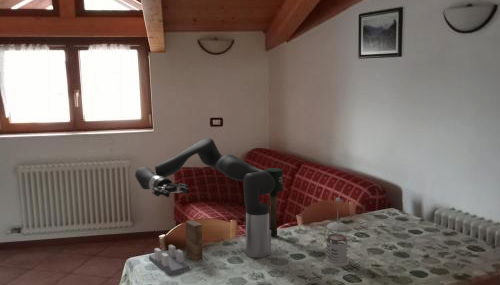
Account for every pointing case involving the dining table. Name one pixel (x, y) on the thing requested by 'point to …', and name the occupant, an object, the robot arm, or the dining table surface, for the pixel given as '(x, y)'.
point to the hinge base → (170, 260)
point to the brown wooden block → (194, 240)
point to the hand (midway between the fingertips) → (178, 193)
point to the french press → (336, 244)
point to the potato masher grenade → (275, 197)
